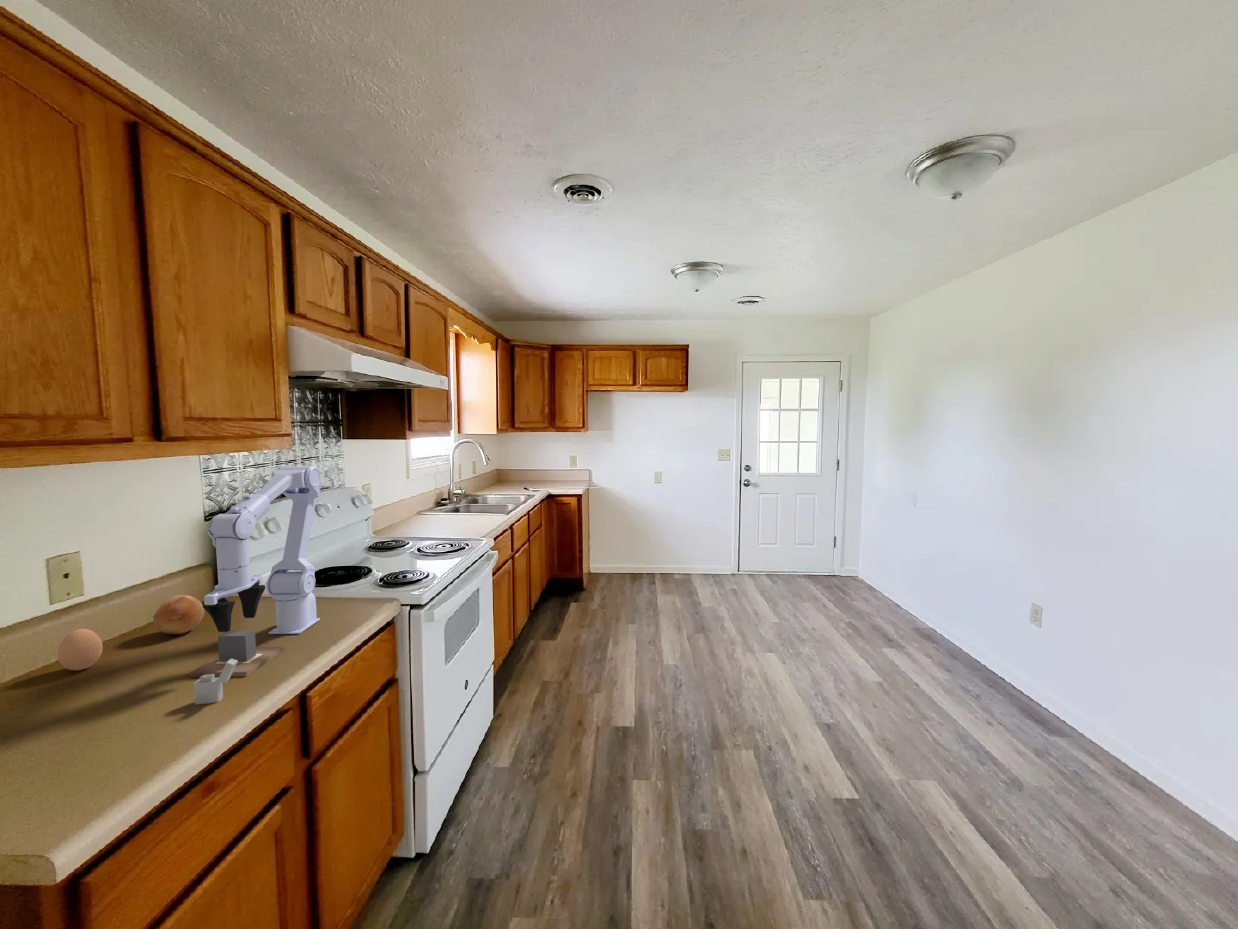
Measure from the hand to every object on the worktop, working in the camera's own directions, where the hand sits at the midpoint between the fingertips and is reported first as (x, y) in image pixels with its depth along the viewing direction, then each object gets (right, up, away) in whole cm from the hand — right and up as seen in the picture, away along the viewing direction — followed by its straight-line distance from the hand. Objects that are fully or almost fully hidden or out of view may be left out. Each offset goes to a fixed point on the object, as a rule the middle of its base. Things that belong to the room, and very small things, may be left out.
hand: (237, 624), depth 109 cm
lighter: (+7, -11, -14) cm, 19 cm away
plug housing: (0, -8, +1) cm, 8 cm away
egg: (-33, -10, -2) cm, 34 cm away
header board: (0, -9, +1) cm, 9 cm away
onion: (-28, -8, +17) cm, 34 cm away
